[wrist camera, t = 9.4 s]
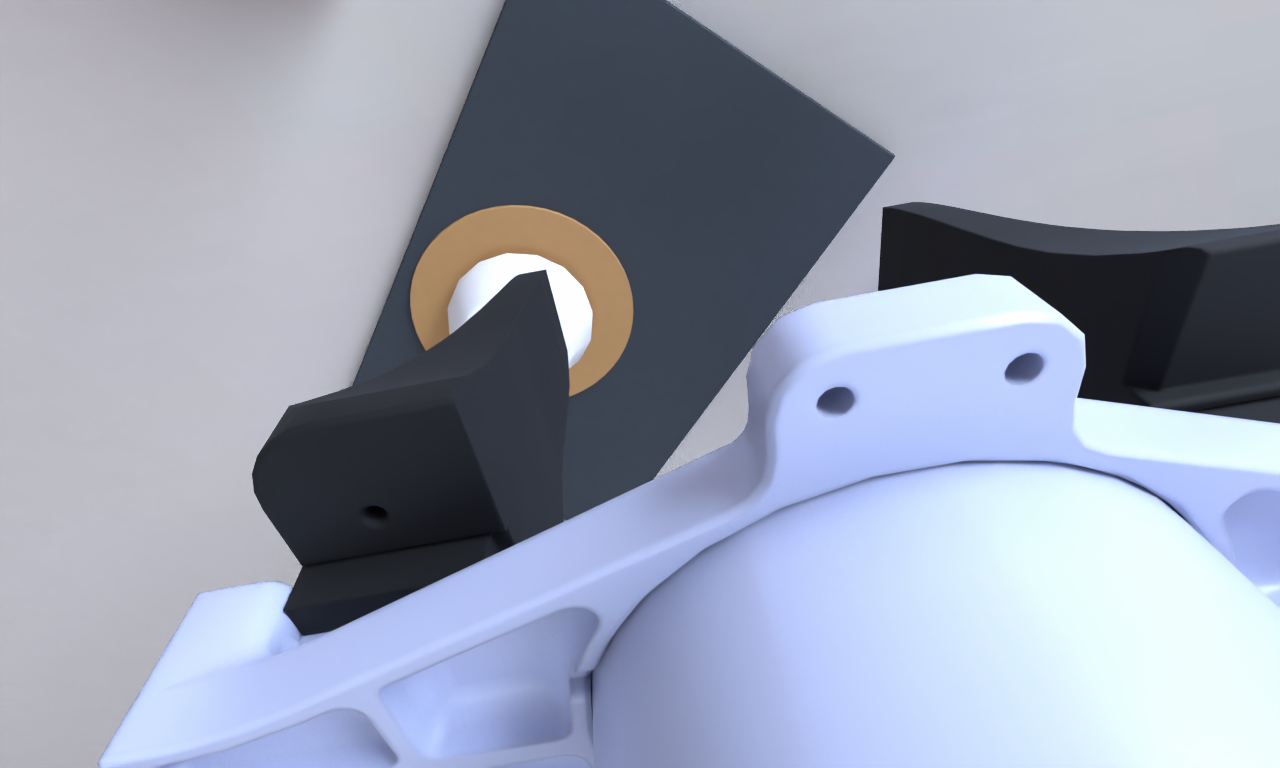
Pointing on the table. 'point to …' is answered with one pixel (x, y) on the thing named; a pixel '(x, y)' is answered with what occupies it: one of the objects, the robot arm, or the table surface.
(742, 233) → the mat
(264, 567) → the table surface
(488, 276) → the lidless jar
